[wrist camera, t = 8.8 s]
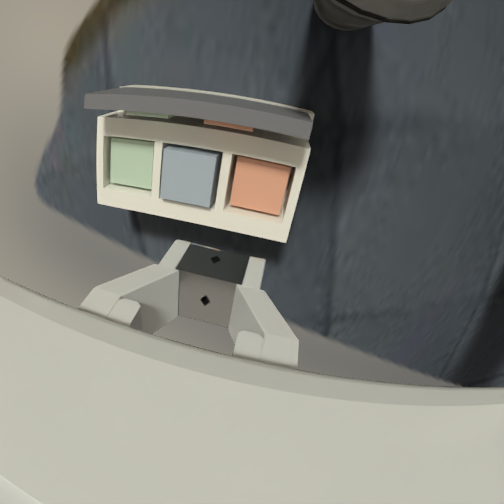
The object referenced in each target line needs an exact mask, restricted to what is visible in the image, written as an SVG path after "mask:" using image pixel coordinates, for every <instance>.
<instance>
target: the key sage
mask: <svg viewBox="0 0 504 504" xmlns="http://www.w3.org/2000/svg"><path fill="white" fill-rule="evenodd" d="M154 145H155V141H149V140H141V139H132V138H123V137H112V138H111V169H110V182H112V183H118V184H123V185H129V186H135V187H141V188H146V189H152V173H153V158H154Z"/></svg>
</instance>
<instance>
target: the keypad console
mask: <svg viewBox="0 0 504 504" xmlns="http://www.w3.org/2000/svg"><path fill="white" fill-rule="evenodd" d="M84 109H105V110H118V111H115V112H112V113H108V114H105V115H102V116H98V123H97V200H98V204H103V205H108V206H113V207H118V208H123V209H128V210H133V211H138V212H143V213H148V214H153V215H158V216H162V217H167V218H172V219H177V220H182V221H186V222H191V223H196V224H201V225H205V226H210V227H215V228H219V229H224V230H229V231H233V232H238V233H242V234H247V235H252V236H256V237H261V238H265V239H270V240H274V241H279V242H283V243H286V241H287V237H288V234H289V230H290V226H291V223H292V219H293V215H294V212H295V208H296V204H297V200H298V197H299V193H300V189H301V185H302V182H303V178H304V174H305V170H306V166H307V162H308V158H309V155H310V151H311V148H310V145H309V141H308V140H309V138H310V134H311V130H312V126H313V119H314V115H315V114H314V113H313V111H310V110H306V109H302V108H297V107H293V106H289V105H284V104H279V103H275V102H270V101H265V100H260V99H254V98H249V97H243V96H237V95H231V94H224V93H217V92H210V91H202V90H193V89H184V88H173V87H161V86H145V85H130V86H123V87H120V88H115V89H109V90H103V91H97V92H92V93H87V94H85V103H84ZM112 137H123V138H132V139H141V140H149V141H155V145H154V158H153V173H152V189H146V188H141V187H135V186H129V185H123V184H118V183H112V182H110V169H111V138H112ZM171 144H178V145H184V146H191V147H197V148H203V149H209V150H215V151H220V152H222V158H221V164H220V171H219V178H218V184H217V191H216V197H215V199H214V201H213V202H212V204H211V206H210V207H209V208H208V207H203V206H198V205H193V204H188V203H183V202H178V201H173V200H168V199H163V198H160V193H161V177H162V164H163V152H164V148H166V147H168V146H169V145H171ZM238 155H241V156H247V157H251V158H256V159H261V160H266V161H270V162H275V163H279V164H284V165H288V166H291V170H290V174H289V178H288V182H287V186H286V190H285V194H284V198H283V202H282V206H281V210H280V214H279V215H275V214H271V213H266V212H262V211H257V210H252V209H248V208H243V207H238V206H234V205H229V204H230V198H231V192H232V186H233V180H234V175H235V169H236V163H237V158H238Z"/></svg>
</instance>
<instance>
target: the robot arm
mask: <svg viewBox="0 0 504 504" xmlns="http://www.w3.org/2000/svg"><path fill="white" fill-rule="evenodd" d="M265 262H266V260H265V259H261V258H256V257H251V256H245V255H240V254H236V253H231V252H226V251H221V250H219V249H215V248H211V247H207V246H203V245H199V244H195V243H191V242H187V241H183V240H176V241H175V242H174V243H173V245H172V246H171V247H170V249H169V250H168V252H167V253H166V255H165V256H164V258H163V259H162V260H161V262H160V263H159V265H157V264H153V265H150V266H148V267H145V268H143V269H140V270H138V271H135V272H132V273H130V274H127V275H124V276H122V277H119V278H117V279H114V280H112V281H109V282H107V283H104V284H102V285H99V286H97V287H94V289H93V290H92V291H91V293H90V294H89V295H88V296H87V297H86V299H85V300H84V301H83V302H82V304H81V305H80V306H79V308H78V309H77V308H74V307H72V306H69V305H67V304H64V303H62V302H59V301H57V300H54V299H52V298H49V297H47V296H45V295H42V294H40V293H37V292H35V291H33V290H31V289H28V288H26V287H24V286H22V285H19V284H17V283H15V282H13V281H11V280H9V279H6V278H4V277H2V276H0V504H504V387H447V386H428V385H413V384H401V383H390V382H380V381H371V380H363V379H355V378H348V377H340V376H333V375H326V374H320V373H314V372H308V371H302V370H297V365H298V349H299V348H298V347H299V341H298V339H297V338H296V336H295V335H294V333H293V332H292V330H291V329H290V327H289V326H288V324H287V323H286V322H285V320H284V319H283V317H282V316H281V314H280V313H279V311H278V310H277V308H276V307H275V306H274V304H273V303H272V301H271V300H270V298H269V297H268V295H267V294H266V292H265V291H264V290H260V287H261V282H262V277H263V272H264V267H265ZM178 315H179V316H183V317H187V318H191V319H196V320H200V321H204V322H207V323H211V324H215V325H218V326H222V327H226V328H228V330H229V332H230V335H231V338H232V340H233V343H234V345H235V347H234V351H233V354H232V356H230V355H226V354H222V353H218V352H213V351H210V350H206V349H202V348H198V347H195V346H191V345H187V344H183V343H180V342H176V341H173V340H169V339H166V338H162V337H159V336H156V335H152V334H153V333H154V332H155V331H157V330H159V329H160V328H161V327H163V326H164V325H166V324H167V323H169V322H170V321H172V320H173V319H175V318H176V317H178Z"/></svg>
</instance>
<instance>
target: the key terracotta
mask: <svg viewBox="0 0 504 504" xmlns="http://www.w3.org/2000/svg"><path fill="white" fill-rule="evenodd" d="M290 170H291V166H288V165H284V164H279V163H275V162H270V161H266V160H261V159H256V158H251V157H247V156H241V155H238V158H237V163H236V169H235V175H234V180H233V186H232V192H231V198H230V204H229V205H234V206H238V207H243V208H248V209H252V210H257V211H262V212H266V213H271V214H275V215H279V214H280V210H281V206H282V202H283V198H284V194H285V190H286V186H287V182H288V178H289V174H290Z"/></svg>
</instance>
